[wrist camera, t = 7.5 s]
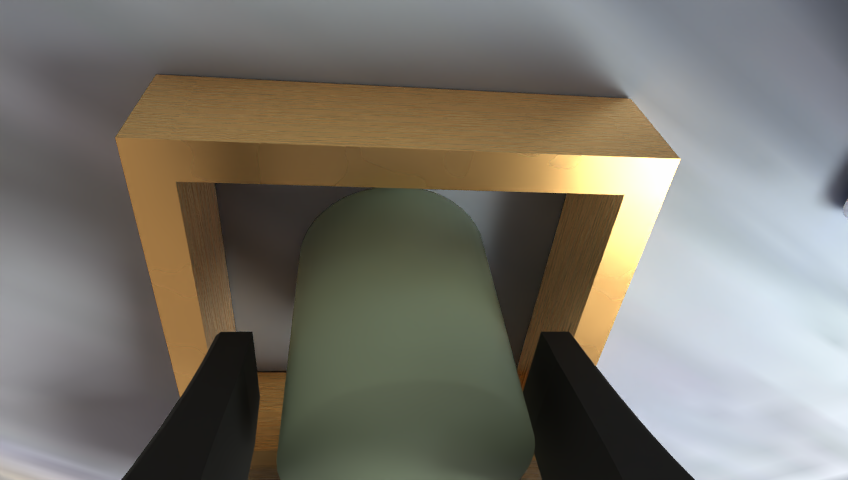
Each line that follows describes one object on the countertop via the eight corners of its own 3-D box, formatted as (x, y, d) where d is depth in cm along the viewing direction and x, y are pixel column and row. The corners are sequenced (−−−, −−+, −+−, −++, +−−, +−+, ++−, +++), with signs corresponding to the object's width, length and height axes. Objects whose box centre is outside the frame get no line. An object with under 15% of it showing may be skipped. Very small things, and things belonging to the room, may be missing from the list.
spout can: (493, 184, 14) (556, 373, 10) (468, 370, 18) (504, 561, 14) (291, 187, 13) (261, 386, 9) (312, 377, 17) (298, 577, 13)
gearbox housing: (639, 99, 13) (831, 325, 8) (513, 474, 22) (562, 696, 16) (145, 73, 11) (-28, 325, 6) (227, 483, 20) (183, 726, 15)
